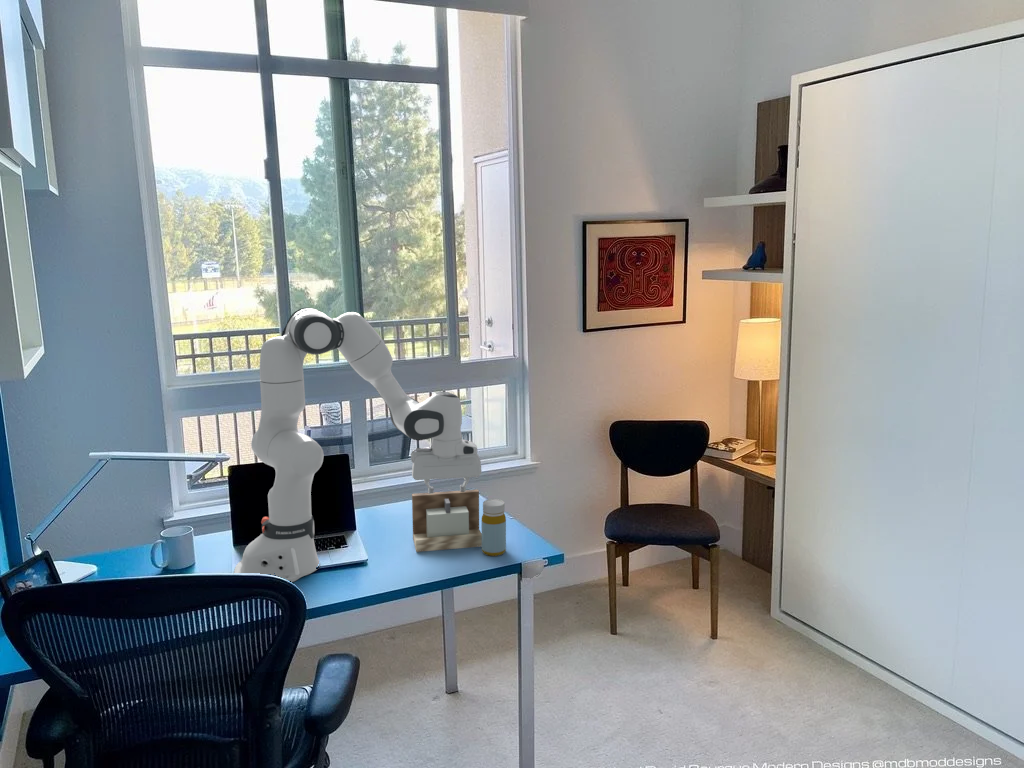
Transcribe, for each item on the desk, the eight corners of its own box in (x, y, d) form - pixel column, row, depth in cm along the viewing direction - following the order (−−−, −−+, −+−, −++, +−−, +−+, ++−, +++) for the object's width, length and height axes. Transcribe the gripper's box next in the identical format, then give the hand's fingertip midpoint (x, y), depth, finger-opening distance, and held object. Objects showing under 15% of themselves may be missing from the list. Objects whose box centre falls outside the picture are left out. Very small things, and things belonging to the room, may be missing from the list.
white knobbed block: (428, 540, 222) (427, 505, 220) (426, 534, 227) (425, 499, 224) (468, 537, 224) (468, 502, 222) (466, 531, 229) (466, 496, 227)
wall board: (416, 551, 219) (415, 506, 216) (412, 537, 229) (411, 493, 226) (484, 546, 223) (484, 501, 220) (478, 532, 233) (477, 489, 230)
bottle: (484, 558, 215) (484, 507, 212) (479, 548, 222) (479, 499, 219) (508, 555, 217) (508, 505, 214) (502, 545, 223) (502, 497, 220)
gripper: (411, 451, 215) (412, 497, 217) (482, 448, 219) (482, 493, 222) (409, 445, 221) (410, 490, 223) (479, 442, 225) (478, 486, 228)
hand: (446, 492), depth 223 cm, fingers open, 8 cm apart
